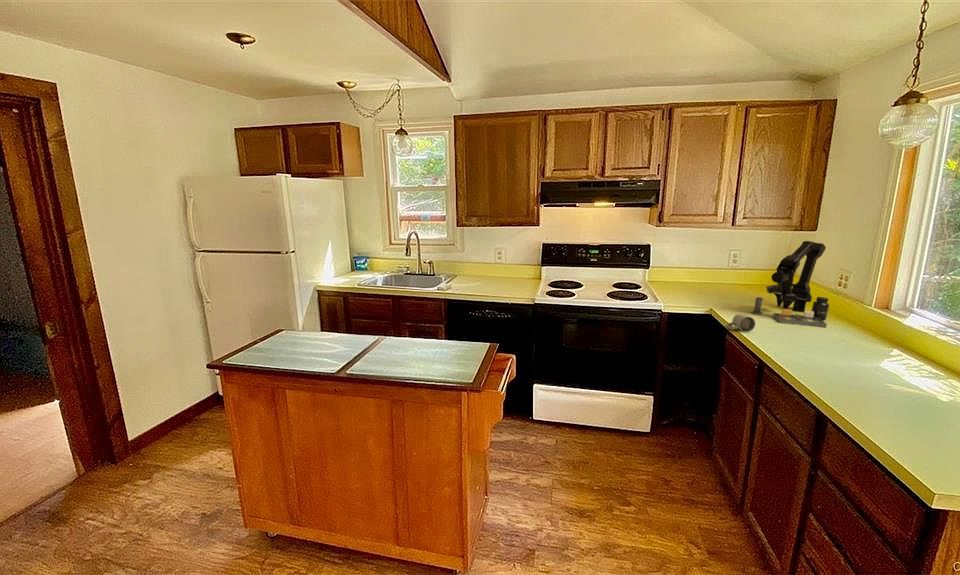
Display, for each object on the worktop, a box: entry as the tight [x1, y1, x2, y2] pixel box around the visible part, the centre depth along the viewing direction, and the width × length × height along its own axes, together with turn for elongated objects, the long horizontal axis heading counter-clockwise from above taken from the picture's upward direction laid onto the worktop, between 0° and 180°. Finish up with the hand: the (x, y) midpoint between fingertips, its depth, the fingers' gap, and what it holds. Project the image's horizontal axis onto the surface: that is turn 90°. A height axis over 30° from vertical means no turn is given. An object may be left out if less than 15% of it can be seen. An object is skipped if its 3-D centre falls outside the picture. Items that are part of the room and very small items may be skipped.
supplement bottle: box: [811, 296, 830, 322], centre depth 227 cm, size 7×7×12 cm
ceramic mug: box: [726, 313, 756, 333], centre depth 209 cm, size 11×8×8 cm
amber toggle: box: [781, 308, 793, 316], centre depth 227 cm, size 2×4×3 cm, turn 71°
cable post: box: [750, 296, 764, 316], centre depth 236 cm, size 5×5×9 cm
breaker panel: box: [772, 312, 827, 328], centre depth 223 cm, size 12×20×3 cm, turn 71°
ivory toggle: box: [803, 310, 814, 318], centre depth 223 cm, size 2×4×3 cm, turn 71°
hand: (781, 308), depth 235 cm, fingers open, 9 cm apart
